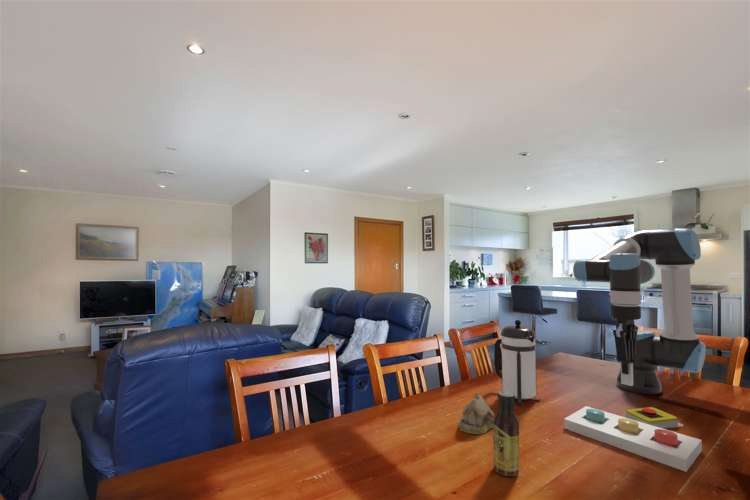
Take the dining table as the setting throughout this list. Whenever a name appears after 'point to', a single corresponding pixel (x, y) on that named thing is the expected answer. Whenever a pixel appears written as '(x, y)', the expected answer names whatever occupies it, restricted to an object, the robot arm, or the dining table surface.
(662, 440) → the red button
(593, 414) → the teal button
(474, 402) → the ceramic model
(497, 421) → the sauce bottle
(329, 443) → the dining table surface
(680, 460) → the button panel
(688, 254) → the robot arm
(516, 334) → the coffee press
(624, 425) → the ochre button
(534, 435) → the dining table surface
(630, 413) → the emergency button
